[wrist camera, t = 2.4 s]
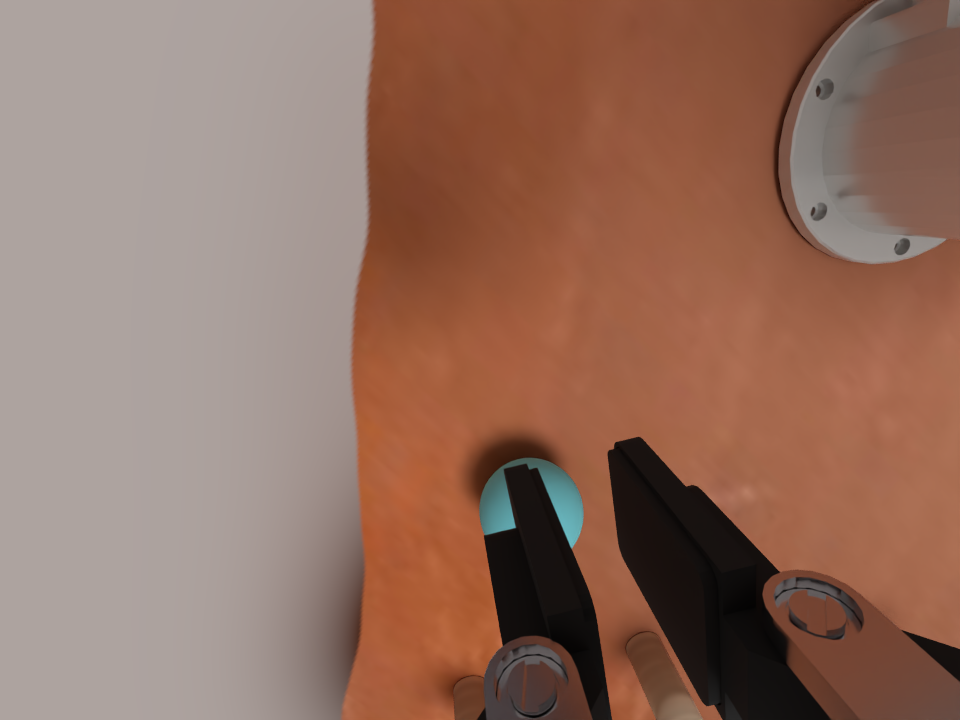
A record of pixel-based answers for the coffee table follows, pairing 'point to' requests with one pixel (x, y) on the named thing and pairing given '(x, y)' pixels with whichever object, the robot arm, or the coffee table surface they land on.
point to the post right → (660, 679)
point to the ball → (558, 486)
